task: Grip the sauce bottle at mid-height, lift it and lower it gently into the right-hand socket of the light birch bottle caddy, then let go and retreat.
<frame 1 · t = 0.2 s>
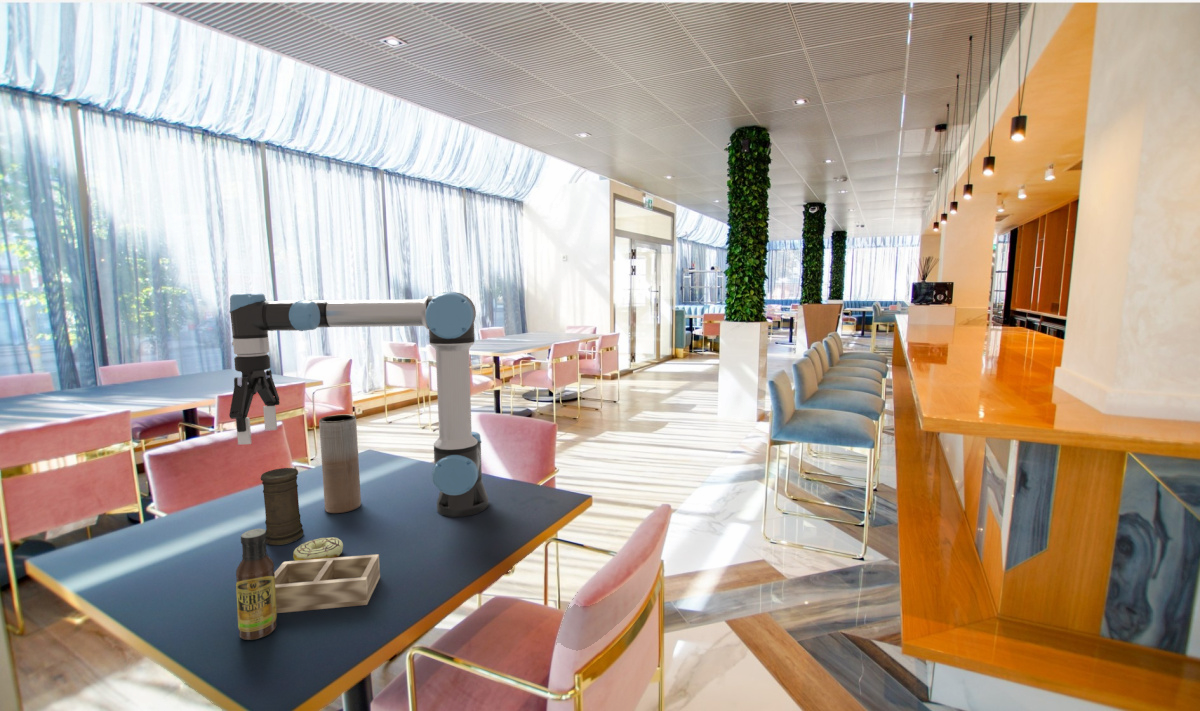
hand: (258, 436, 136), 28 cm above the table, fingers open, 13 cm apart
caddy: (324, 594, 114), on the table
decorated donut: (319, 559, 130), on the table
sauce bottle: (259, 633, 101), on the table
vase: (343, 507, 161), on the table
container: (284, 538, 141), on the table
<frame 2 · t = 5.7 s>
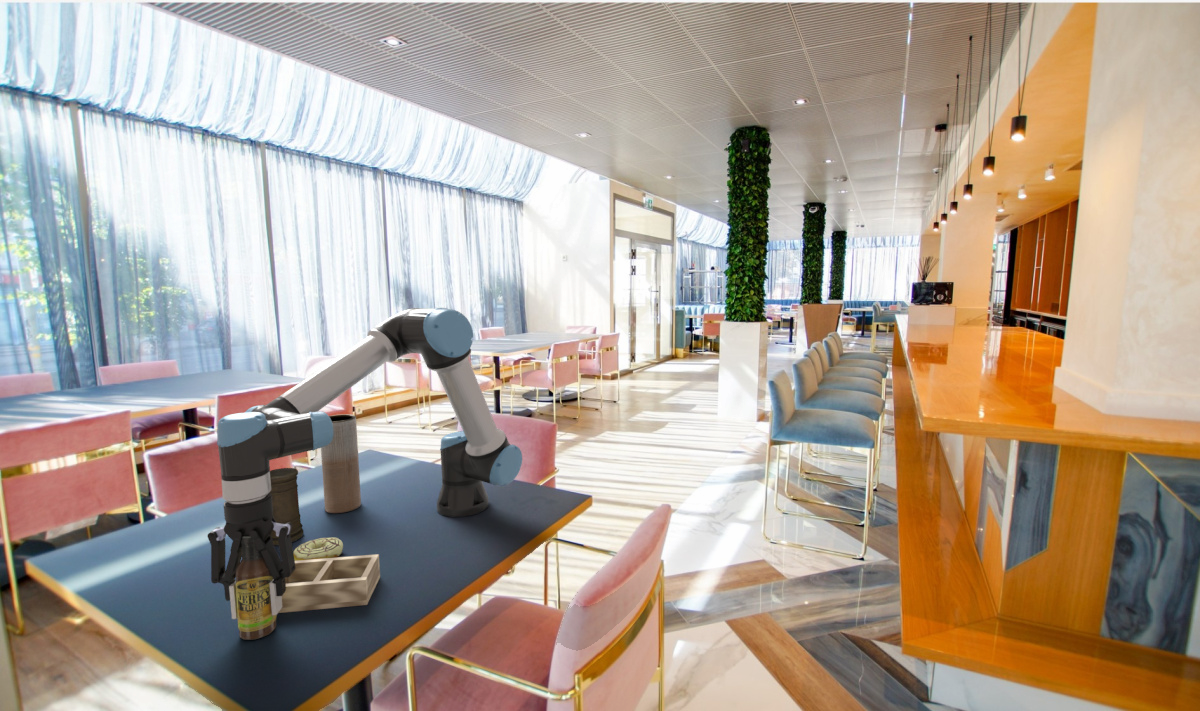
hand: (257, 612, 101), 4 cm above the table, fingers closed on sauce bottle, 6 cm apart
sauce bottle: (259, 632, 101), on the table, touching gripper
everything else where it was.
when the fingers open (7 cm above the table, at t = 12.4 s): sauce bottle drops 2 cm, resting on caddy.
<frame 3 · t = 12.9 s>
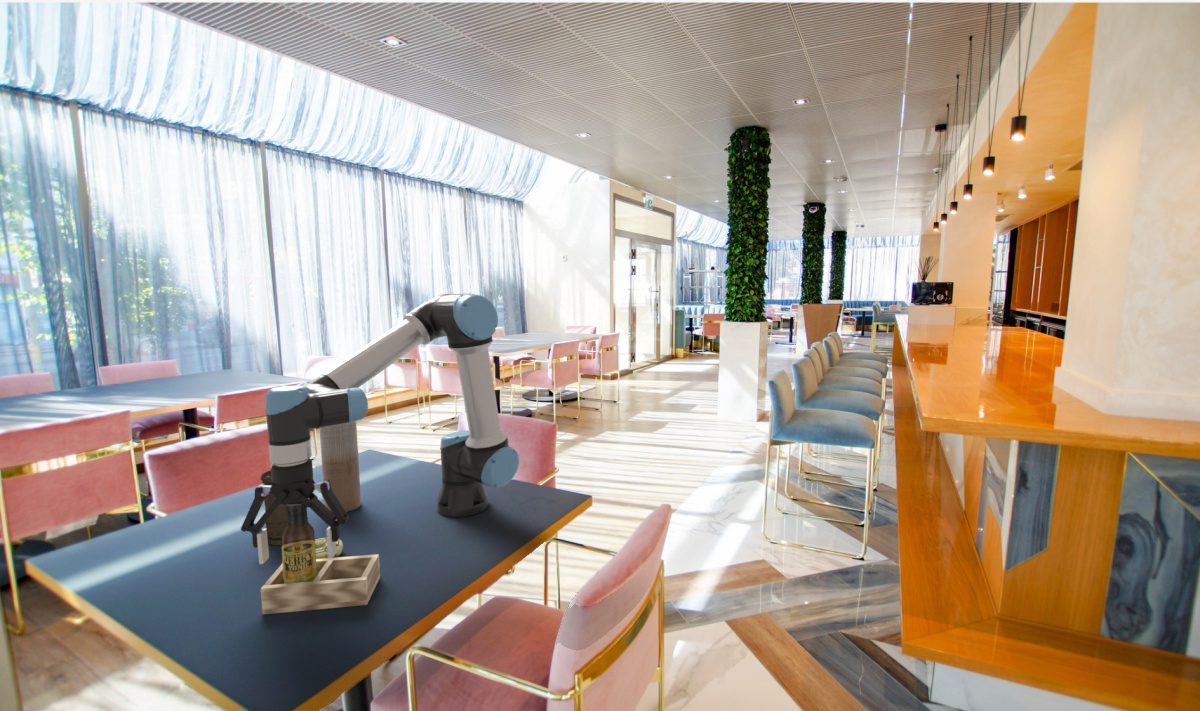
hand: (298, 558, 112), 9 cm above the table, fingers open, 13 cm apart
sauce bottle: (302, 591, 113), point 1 cm above the table, touching caddy
everything else where it was.
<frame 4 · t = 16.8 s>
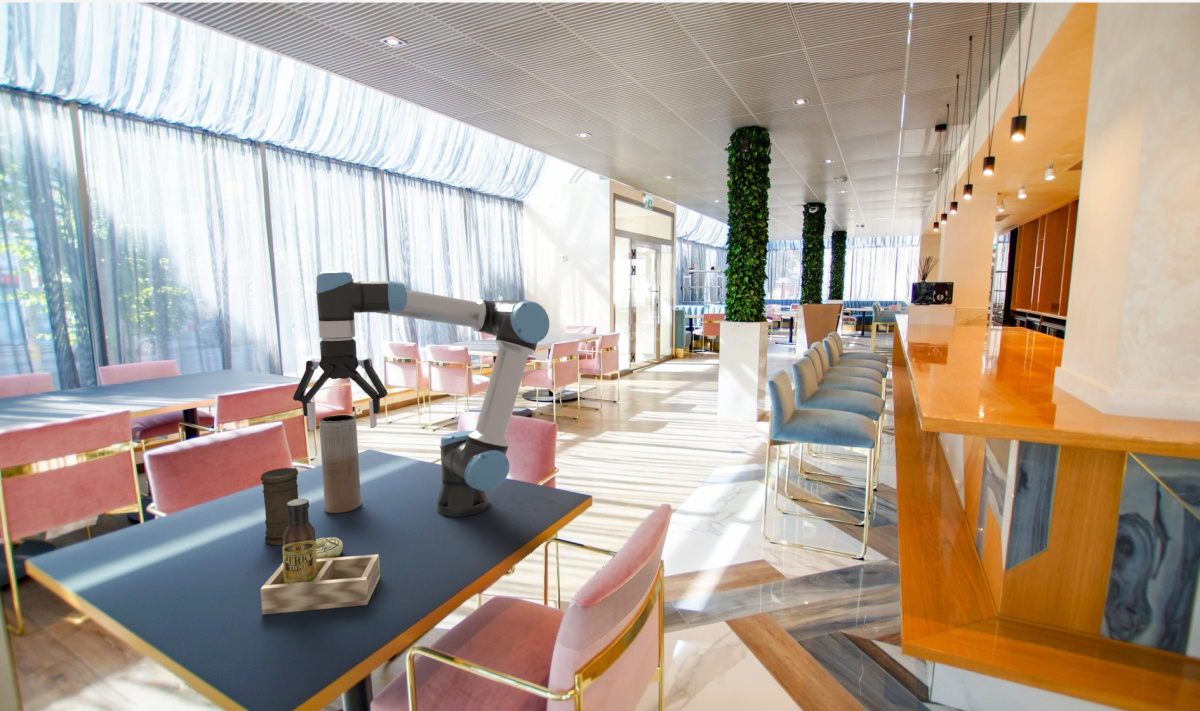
hand: (343, 428, 125), 33 cm above the table, fingers open, 13 cm apart
nothing on the table moved.
at the end: sauce bottle inside the target area on the caddy (0.2 cm from its centre), point 1.0 cm above the caddy's base; sauce bottle tilted 0°; the gripper is holding nothing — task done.
